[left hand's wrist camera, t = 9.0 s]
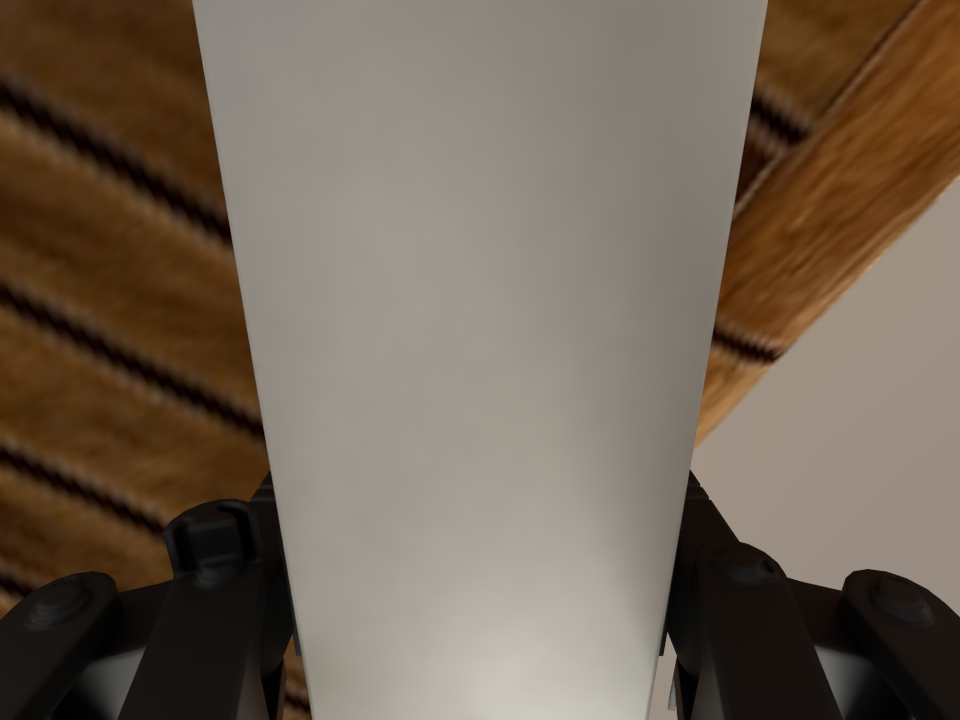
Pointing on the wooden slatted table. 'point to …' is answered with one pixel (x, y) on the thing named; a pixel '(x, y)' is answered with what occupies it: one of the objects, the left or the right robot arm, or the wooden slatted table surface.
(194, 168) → the wooden slatted table surface
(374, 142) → the bar
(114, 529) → the wooden slatted table surface
